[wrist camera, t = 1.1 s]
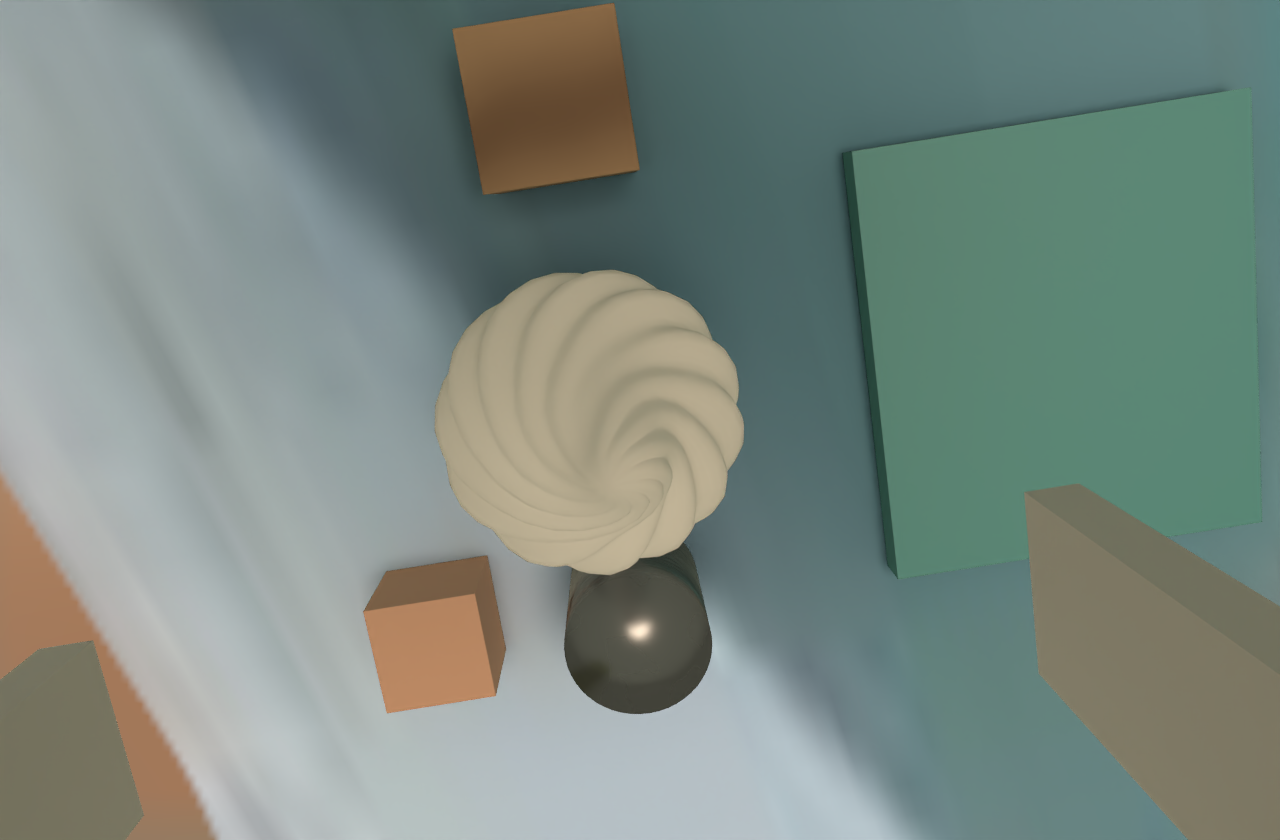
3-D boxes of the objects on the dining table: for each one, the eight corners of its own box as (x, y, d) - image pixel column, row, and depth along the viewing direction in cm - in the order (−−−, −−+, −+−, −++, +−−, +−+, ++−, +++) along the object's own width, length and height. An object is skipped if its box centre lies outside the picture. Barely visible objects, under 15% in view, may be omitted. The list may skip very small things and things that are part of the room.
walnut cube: (473, 50, 36) (452, 29, 32) (613, 27, 36) (614, 2, 32) (499, 193, 38) (483, 194, 33) (635, 171, 38) (639, 169, 33)
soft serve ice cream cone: (467, 443, 39) (374, 608, 24) (506, 224, 38) (432, 249, 22) (682, 484, 40) (728, 672, 24) (729, 271, 38) (812, 327, 23)
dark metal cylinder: (560, 531, 40) (552, 589, 35) (687, 510, 40) (700, 565, 34) (582, 648, 41) (577, 724, 36) (705, 629, 41) (721, 701, 36)
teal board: (842, 153, 38) (852, 151, 36) (1225, 91, 37) (1251, 87, 36) (887, 565, 41) (898, 579, 40) (1238, 510, 41) (1262, 521, 39)
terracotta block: (386, 570, 41) (363, 611, 37) (487, 554, 41) (474, 593, 37) (407, 663, 41) (387, 713, 38) (506, 647, 41) (495, 695, 38)
